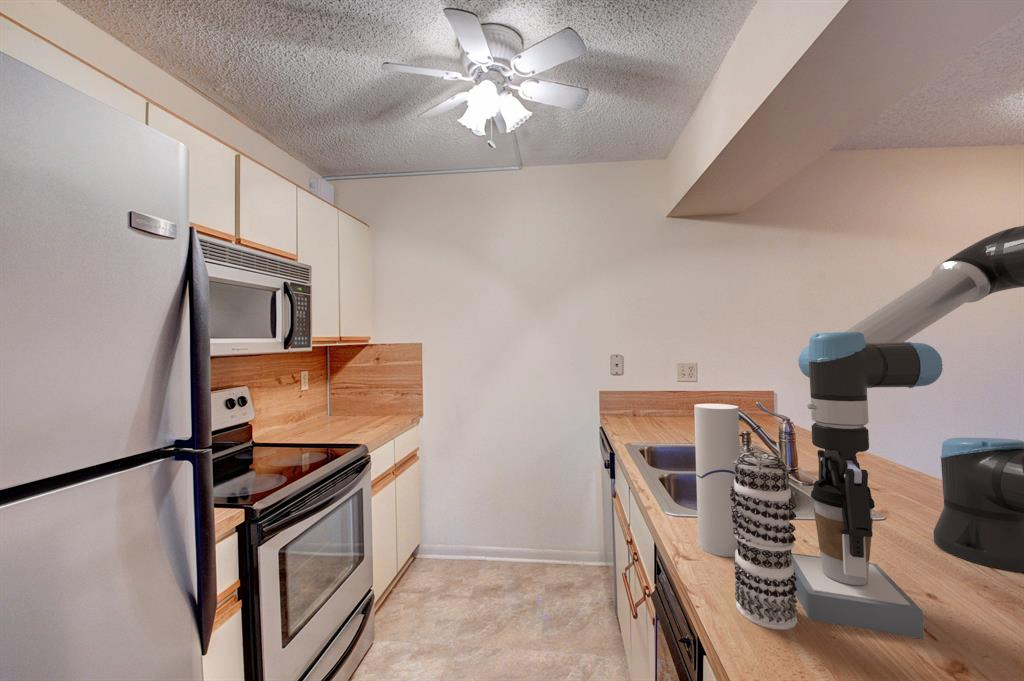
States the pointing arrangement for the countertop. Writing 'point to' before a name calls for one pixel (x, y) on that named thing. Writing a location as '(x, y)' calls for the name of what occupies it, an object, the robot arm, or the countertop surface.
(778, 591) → the decorative candle
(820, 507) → the coffee cup
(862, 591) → the podium
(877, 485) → the countertop surface
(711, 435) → the container
